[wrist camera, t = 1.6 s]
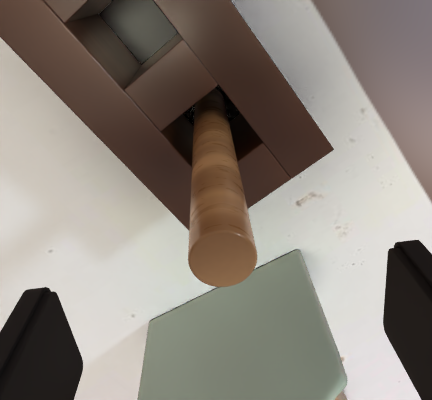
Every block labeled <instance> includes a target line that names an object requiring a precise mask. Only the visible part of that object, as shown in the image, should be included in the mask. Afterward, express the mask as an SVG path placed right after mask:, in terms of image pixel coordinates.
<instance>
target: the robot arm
mask: <svg viewBox="0 0 432 400" xmlns="http://www.w3.org/2000/svg"><path fill="white" fill-rule="evenodd" d="M383 325H384V330H385V333H386V335H387V337H388V339H389V341H390V343H391V344H392V346H393V348H394V350H395V352H396V354H397V355H398V357H399V359H400V361H401V363H402V365H403V366H404V368H405V370H406V372H407V374H408V376H409V377H410V379H411V381H412V383H413V385H414V387H415V389H416V390H417V392H418V394H419V396H420V398H421V400H432V254H431V253H430V252H429V251H428V250H427V248H426V247H425V246H424V245H423V244H422V243H421V242H420V241H419V240H412V241H404V242H397V243H395V245H394V248H391V249H389V251H388V260H387V275H386V289H385V303H384V317H383ZM82 370H83V361H82V357H81V355H80V352H79V349H78V347H77V344H76V342H75V339H74V336H73V334H72V331H71V329H70V326H69V324H68V321H67V318H66V316H65V313H64V311H63V308H62V305H61V303H60V300H59V298H58V295H57V293H56V292H51V291H50V289H49V288H47V287H44V288H37V289H29V290H26V291H24V293H23V294H22V296H21V298H20V299H19V301H18V303H17V304H16V306H15V308H14V310H13V311H12V313H11V315H10V316H9V318H8V320H7V322H6V323H5V325H4V327H3V328H2V330H1V332H0V400H74V397H75V394H76V391H77V387H78V384H79V381H80V378H81V374H82Z"/></svg>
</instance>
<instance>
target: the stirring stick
mask: <svg viewBox="0 0 432 400" xmlns="http://www.w3.org/2000/svg"><path fill="white" fill-rule="evenodd" d="M188 263H189V267H190V269H191V271H192V272H193V274H194V275H195V276H196V277H197V278H198V279H199V280H200V281H202V282H203V283H205V284H208V285H211V286H215V287H228V286H233V285H236V284H238V283H240V282H242V281H244V280H245V279H246V278H247V277H249V276H250V274H251V273H252V272H253V270H254V268H255V266H256V263H257V251H256V246H255V242H254V237H253V232H252V228H251V223H250V218H249V214H248V209H247V204H246V200H245V195H244V190H243V186H242V181H241V176H240V172H239V167H238V162H237V158H236V153H235V148H234V144H233V139H232V134H231V130H230V125H229V120H228V116H227V111H226V106H225V102H224V98H223V95H222V94H221V92H220V91H218V90H217V89H215V88H214V89H213V90H212V91H210V92H209V93H208V94H207V95H205V96H204V97H203V98H202V99H200V100H199V101H198V102H197V103H195V108H194V132H193V156H192V180H191V204H190V228H189V252H188Z"/></svg>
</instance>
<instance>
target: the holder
mask: <svg viewBox="0 0 432 400" xmlns="http://www.w3.org/2000/svg"><path fill="white" fill-rule="evenodd" d="M112 1H113V0H0V37H1V38H2V39H3V40H4V41H5V42H6V43H7V44H8V45H9V46H10V47H11V48H12V50H13V51H14V52H15V53H16V54H17V55H18V56H19V57H20V58H21V59H22V60H23V61H24V62H25V63H26V64H27V65H28V66H29V67H30V68H31V69H32V70H33V71H34V72H35V73H36V74H37V75H38V76H39V77H40V78H41V79H42V80H43V81H44V82H45V83H46V84H47V85H48V86H49V87H50V88H51V89H52V91H53V92H54V93H55V94H56V95H57V96H58V97H59V98H60V99H61V100H62V101H63V102H64V103H65V104H66V105H67V106H68V107H69V108H70V109H71V110H72V111H73V112H74V113H75V114H76V115H77V116H78V117H79V118H80V119H81V120H82V121H83V122H84V123H85V124H86V125H87V126H88V127H89V128H90V129H91V131H92V132H93V133H94V134H95V135H96V136H97V137H98V138H99V139H100V140H101V141H102V142H103V143H104V144H105V145H106V146H107V147H108V148H109V149H110V150H111V151H112V152H113V153H114V154H115V155H116V156H117V157H118V158H119V159H120V160H121V161H122V162H123V163H124V164H125V165H126V166H127V167H128V168H129V169H130V170H131V172H132V173H133V174H134V175H135V176H136V177H137V178H138V179H139V180H140V181H141V182H142V183H143V184H144V185H145V186H146V187H147V188H148V189H149V190H150V191H151V192H152V193H153V194H154V195H155V196H156V197H157V198H158V199H159V200H160V201H161V202H162V203H163V204H164V205H165V206H166V207H167V208H168V209H169V210H170V211H171V213H172V214H173V215H174V216H175V217H176V218H177V219H178V220H179V221H180V222H181V223H182V224H183V225H184V226H185V227H186V228H187V229H188V230H189V228H190V204H191V180H192V156H193V132H194V127H193V125H192V124H191V123H190V122H189V121H188V119H187V118H186V117H185V116H184V115H183V113H184V112H185V111H187V110H188V109H189V108H190V107H192V106H193V105H194V104H195V103H197V102H198V101H199V100H200V99H202V98H203V97H204V96H205V95H207V94H208V93H209V92H210V91H212V90H213V89H214V88H215V87H216V86H218V84H219V86H220V87H221V88H222V90H223V91H224V92H225V93H226V95H227V96H228V97H229V99H230V100H231V101H232V102H233V104H234V105H235V106H236V108H237V109H238V110H239V111H240V114H239V115H238V116H236V117H235V118H234V119H233V120H231V121H230V122H229V125H230V130H231V134H232V139H233V144H234V148H235V153H236V158H237V162H238V167H239V172H240V176H241V181H242V186H243V190H244V195H245V200H246V204H247V209H248V208H250V207H251V206H252V205H254V204H255V203H257V202H258V201H260V200H261V199H263V198H264V197H265V196H267V195H268V194H270V193H271V192H273V191H274V190H276V189H277V188H279V187H280V186H281V185H283V184H284V183H286V182H287V181H289V180H290V179H291V178H293V177H295V176H296V175H298V174H299V173H301V172H302V171H304V170H305V169H306V168H308V167H309V166H311V165H312V164H314V163H315V162H317V161H318V160H319V159H321V158H322V157H324V156H325V155H327V154H328V153H330V152H331V151H333V150H334V149H333V147H332V146H331V144H330V143H329V141H328V140H327V139H326V137H325V136H324V134H323V133H322V131H321V130H320V129H319V127H318V126H317V124H316V123H315V121H314V120H313V118H312V117H311V116H310V114H309V113H308V111H307V110H306V108H305V107H304V105H303V104H302V103H301V101H300V100H299V98H298V97H297V95H296V94H295V92H294V91H293V90H292V88H291V87H290V85H289V84H288V82H287V81H286V80H285V78H284V77H283V75H282V74H281V72H280V71H279V69H278V68H277V67H276V65H275V64H274V62H273V61H272V59H271V58H270V56H269V55H268V54H267V52H266V51H265V49H264V48H263V46H262V45H261V44H260V42H259V41H258V39H257V38H256V36H255V35H254V33H253V32H252V31H251V29H250V28H249V26H248V25H247V23H246V22H245V20H244V19H243V18H242V16H241V15H240V13H239V12H238V10H237V9H236V7H235V6H234V5H233V3H232V2H231V0H153V1H154V2H155V3H156V5H157V6H158V7H159V8H160V10H161V11H162V12H163V14H164V15H165V16H166V17H167V19H168V20H169V21H170V23H171V24H172V25H173V26H174V28H175V29H176V30H177V32H178V34H177V35H175V36H174V37H173V38H172V39H171V40H170V41H169V42H167V43H166V44H165V45H164V46H163V47H162V48H161V49H159V50H158V51H157V52H156V53H155V54H154V55H153V56H151V57H150V58H149V59H148V60H147V61H146V62H145V63H143V64H142V65H141V64H140V63H139V62H138V60H137V59H136V58H135V57H134V56H133V54H132V53H131V52H130V51H129V50H128V49H127V47H126V46H125V45H124V44H123V43H122V41H121V40H120V39H119V38H118V37H117V36H116V34H115V33H114V32H113V31H112V30H111V28H110V27H109V26H108V25H107V24H106V23H105V21H104V20H103V19H102V18H101V17H100V15H99V13H101V12H102V11H103V10H104V9H105V8H106V7H107V6H108V5H109V4H110V3H111V2H112Z"/></svg>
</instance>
